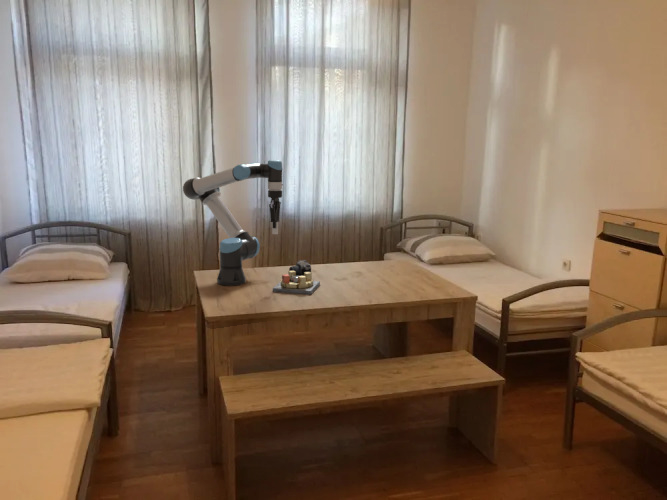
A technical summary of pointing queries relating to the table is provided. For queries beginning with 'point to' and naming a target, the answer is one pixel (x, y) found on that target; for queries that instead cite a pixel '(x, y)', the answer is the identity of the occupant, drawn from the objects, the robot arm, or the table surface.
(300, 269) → the camera
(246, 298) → the table surface
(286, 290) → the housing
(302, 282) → the octagonal wooden frame
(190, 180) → the robot arm
